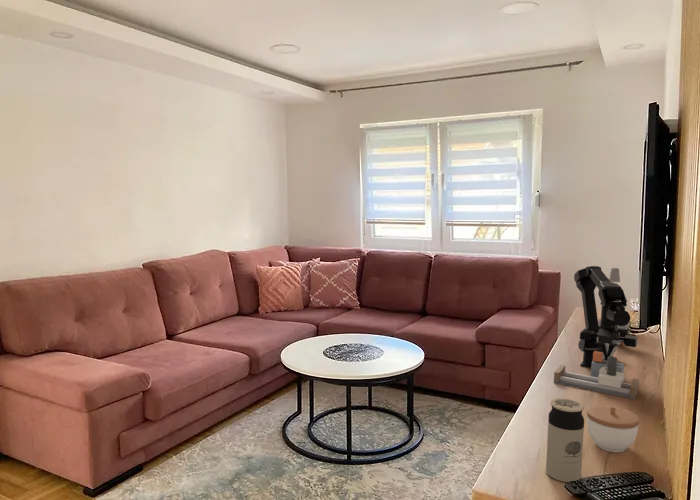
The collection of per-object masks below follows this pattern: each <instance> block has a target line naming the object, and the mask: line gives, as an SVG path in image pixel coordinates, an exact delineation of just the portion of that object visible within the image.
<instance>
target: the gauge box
mask: <svg viewBox="0 0 700 500" xmlns="http://www.w3.org/2000/svg"><path fill="white" fill-rule="evenodd" d="M624 368H625V363H622V362H617V371H616V372H620V373H624V370H625V369H624ZM602 369H604V370H607V361H606V360H605V359H603V361H602V362H597V361H592V364H591V367H590V376H591V377H596V378H598V375H599V374H600V372H601V371H602Z"/></svg>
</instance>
